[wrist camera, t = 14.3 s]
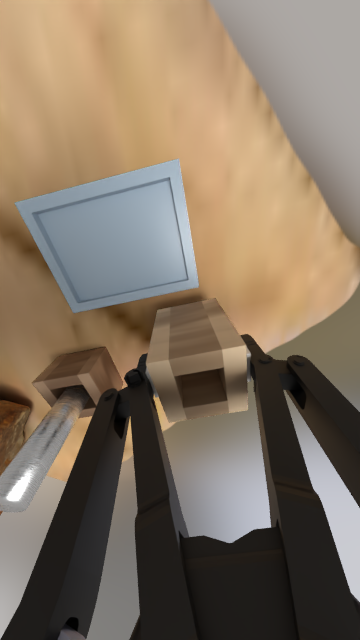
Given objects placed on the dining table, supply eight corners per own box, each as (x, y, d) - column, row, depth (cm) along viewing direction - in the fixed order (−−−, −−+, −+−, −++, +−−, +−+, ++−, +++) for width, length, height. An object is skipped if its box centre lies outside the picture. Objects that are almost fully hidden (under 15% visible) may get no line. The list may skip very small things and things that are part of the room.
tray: (25, 205, 16) (14, 202, 15) (178, 164, 15) (178, 158, 14) (78, 309, 21) (73, 313, 20) (197, 284, 20) (199, 287, 18)
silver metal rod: (79, 364, 24) (-28, 498, 12) (98, 360, 24) (10, 493, 12) (88, 378, 26) (1, 513, 13) (106, 375, 25) (35, 510, 13)
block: (157, 309, 17) (145, 363, 10) (215, 298, 17) (246, 344, 10) (170, 355, 20) (168, 422, 13) (220, 345, 19) (247, 409, 12)
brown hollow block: (59, 355, 24) (31, 383, 19) (105, 347, 23) (88, 373, 19) (81, 390, 27) (62, 420, 22) (123, 382, 26) (112, 412, 22)
